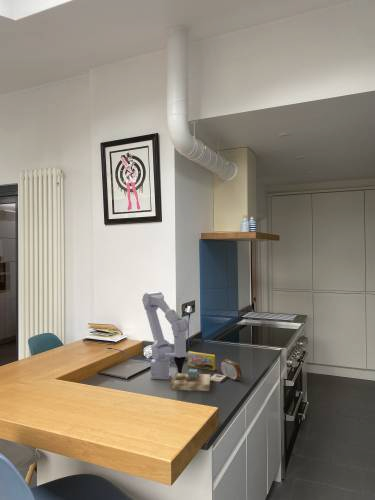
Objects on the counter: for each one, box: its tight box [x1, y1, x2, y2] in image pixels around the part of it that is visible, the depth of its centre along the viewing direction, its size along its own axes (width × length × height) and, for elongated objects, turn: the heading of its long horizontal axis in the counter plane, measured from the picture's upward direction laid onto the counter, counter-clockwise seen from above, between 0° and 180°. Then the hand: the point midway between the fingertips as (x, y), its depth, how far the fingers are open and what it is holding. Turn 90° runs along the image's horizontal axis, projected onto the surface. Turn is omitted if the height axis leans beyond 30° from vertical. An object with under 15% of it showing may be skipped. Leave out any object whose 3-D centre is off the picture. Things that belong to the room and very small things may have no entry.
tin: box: [220, 358, 243, 381], centre depth 191 cm, size 15×3×8 cm, turn 30°
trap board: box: [170, 372, 212, 392], centre depth 181 cm, size 18×14×4 cm
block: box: [187, 368, 198, 378], centre depth 181 cm, size 4×4×4 cm
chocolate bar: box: [210, 368, 230, 384], centre depth 194 cm, size 9×1×18 cm
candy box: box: [187, 350, 216, 371], centre depth 207 cm, size 16×2×8 cm, turn 62°
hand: (180, 372), depth 182 cm, fingers closed
